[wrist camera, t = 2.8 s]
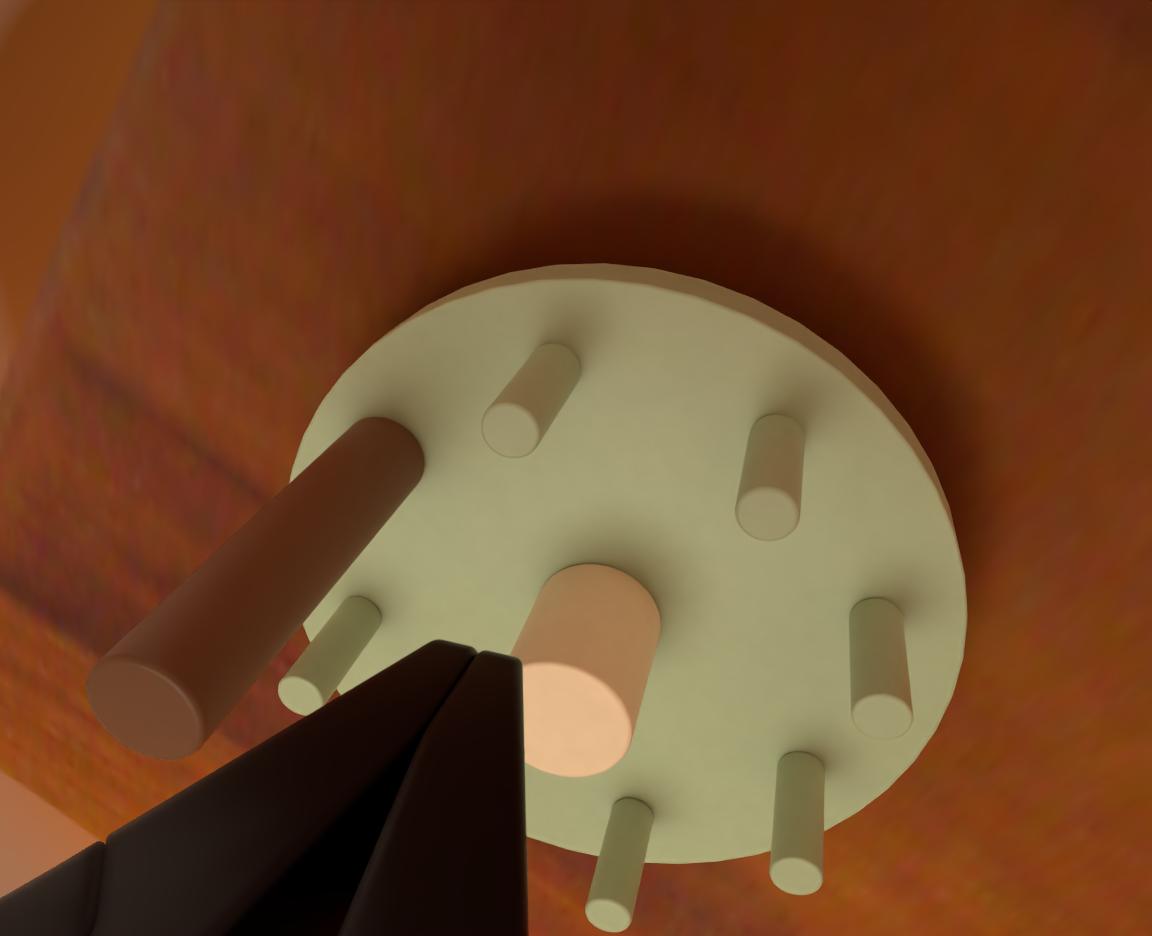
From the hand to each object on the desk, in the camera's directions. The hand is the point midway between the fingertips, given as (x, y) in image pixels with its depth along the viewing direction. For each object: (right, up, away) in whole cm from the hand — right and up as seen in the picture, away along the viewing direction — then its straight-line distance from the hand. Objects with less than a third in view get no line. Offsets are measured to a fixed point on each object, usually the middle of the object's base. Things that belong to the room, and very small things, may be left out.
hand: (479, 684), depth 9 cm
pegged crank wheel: (+2, 0, +10) cm, 10 cm away
